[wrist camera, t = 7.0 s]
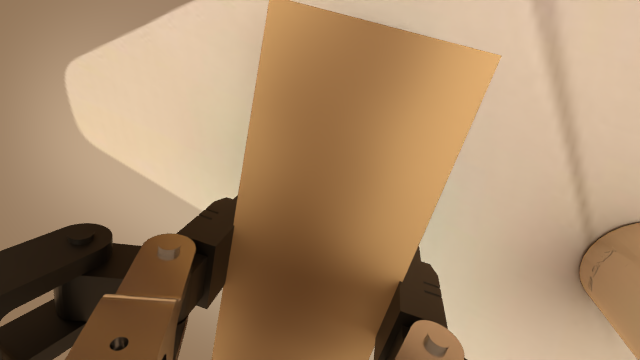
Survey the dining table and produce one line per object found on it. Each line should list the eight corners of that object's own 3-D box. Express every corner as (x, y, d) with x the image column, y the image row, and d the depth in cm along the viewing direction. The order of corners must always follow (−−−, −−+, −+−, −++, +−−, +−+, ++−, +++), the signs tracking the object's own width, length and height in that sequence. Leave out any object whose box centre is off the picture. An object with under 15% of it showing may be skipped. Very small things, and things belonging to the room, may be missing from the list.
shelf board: (470, 54, 10) (501, 55, 7) (341, 375, 15) (329, 448, 12) (304, 10, 10) (270, -5, 7) (238, 338, 16) (205, 399, 13)
